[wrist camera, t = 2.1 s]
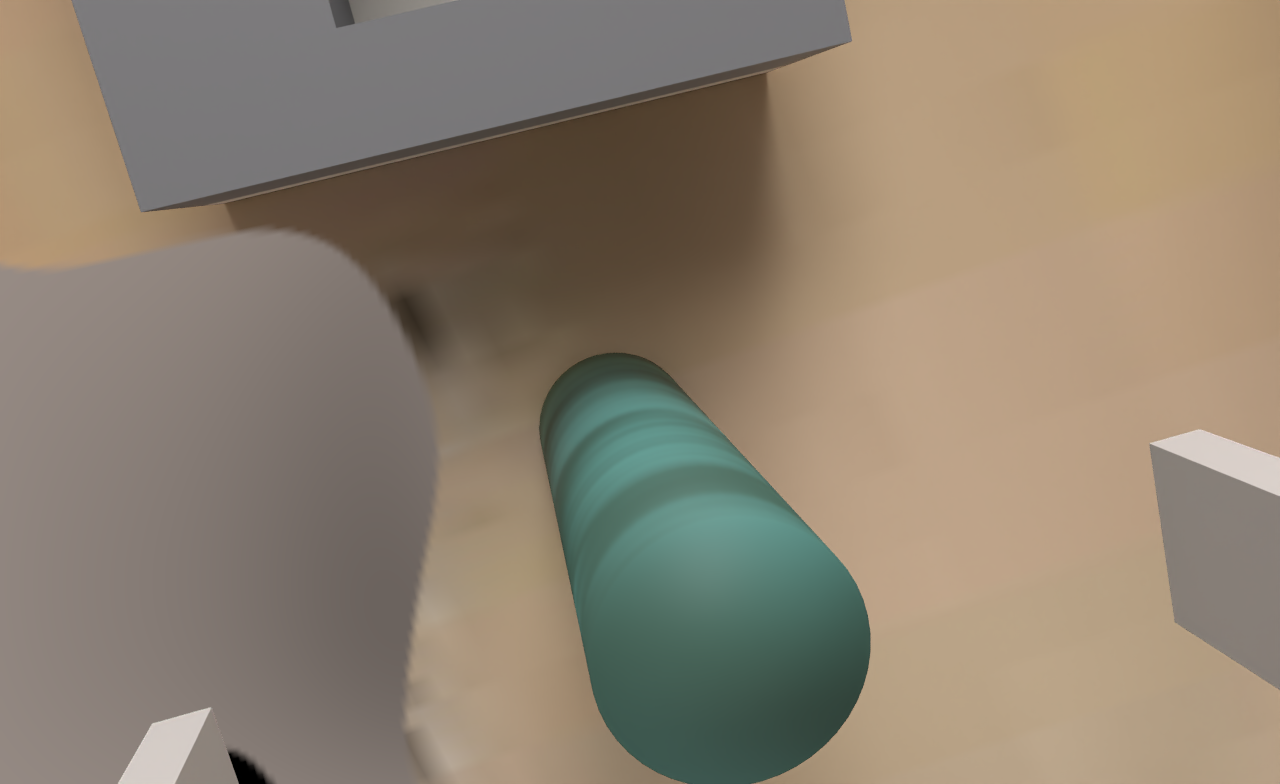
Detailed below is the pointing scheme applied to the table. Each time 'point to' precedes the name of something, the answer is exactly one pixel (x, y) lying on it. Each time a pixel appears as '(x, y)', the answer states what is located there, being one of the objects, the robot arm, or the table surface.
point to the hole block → (399, 76)
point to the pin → (694, 583)
